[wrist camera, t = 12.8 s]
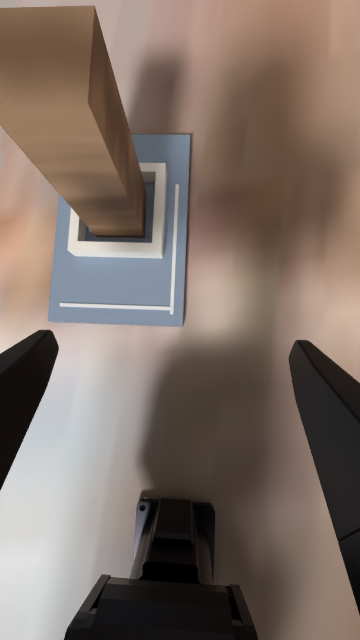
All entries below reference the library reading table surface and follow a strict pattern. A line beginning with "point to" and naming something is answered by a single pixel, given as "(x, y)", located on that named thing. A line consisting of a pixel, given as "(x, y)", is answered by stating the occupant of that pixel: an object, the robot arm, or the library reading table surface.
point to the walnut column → (71, 114)
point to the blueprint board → (128, 250)
